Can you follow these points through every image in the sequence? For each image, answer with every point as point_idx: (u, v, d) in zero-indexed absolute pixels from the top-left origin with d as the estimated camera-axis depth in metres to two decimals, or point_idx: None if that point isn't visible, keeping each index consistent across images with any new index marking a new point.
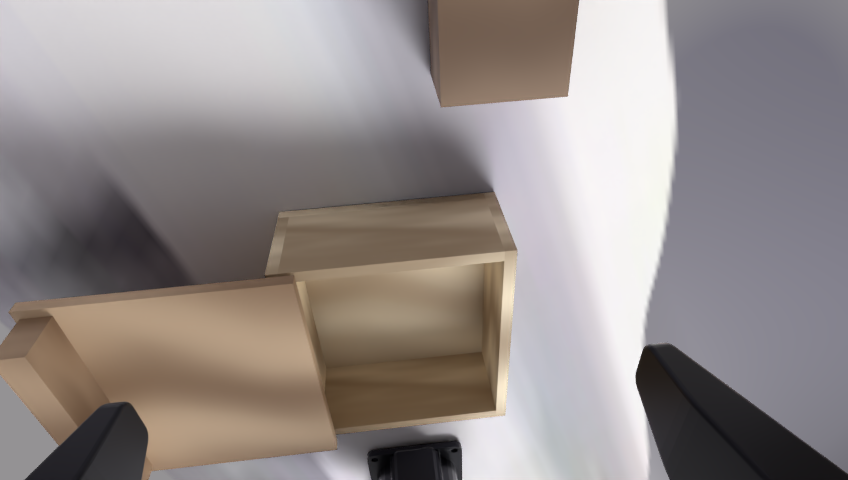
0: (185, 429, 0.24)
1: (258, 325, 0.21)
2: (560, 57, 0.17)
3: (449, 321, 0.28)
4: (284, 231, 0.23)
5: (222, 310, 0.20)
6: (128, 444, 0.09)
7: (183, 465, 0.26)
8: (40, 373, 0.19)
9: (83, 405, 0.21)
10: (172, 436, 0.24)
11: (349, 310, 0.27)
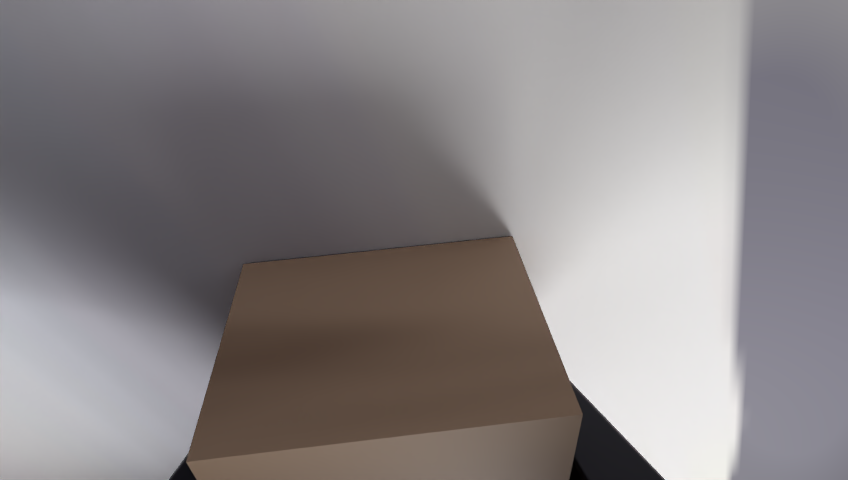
0: None
1: None
2: None
3: None
4: None
5: None
6: None
7: None
8: None
9: None
10: None
11: None
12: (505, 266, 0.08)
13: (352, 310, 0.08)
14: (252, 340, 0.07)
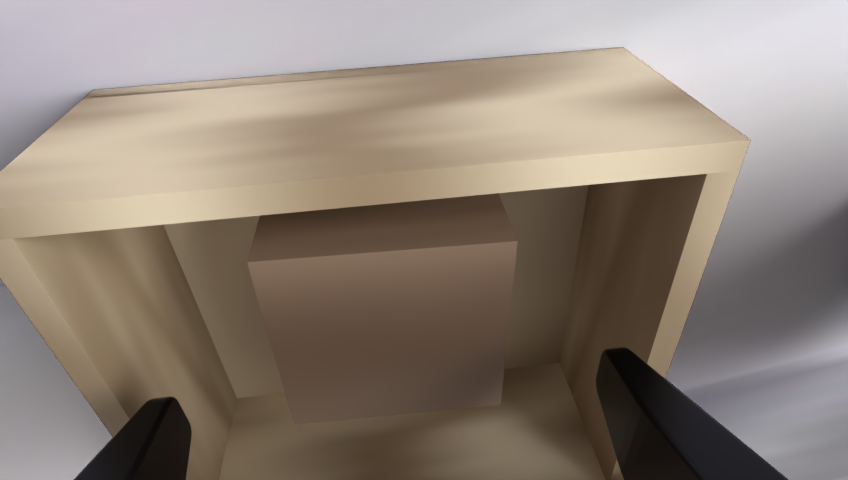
0: None
1: None
2: (485, 364, 0.11)
3: None
4: None
5: None
6: (175, 439, 0.09)
7: None
8: None
9: None
10: None
11: None
12: None
13: None
14: None
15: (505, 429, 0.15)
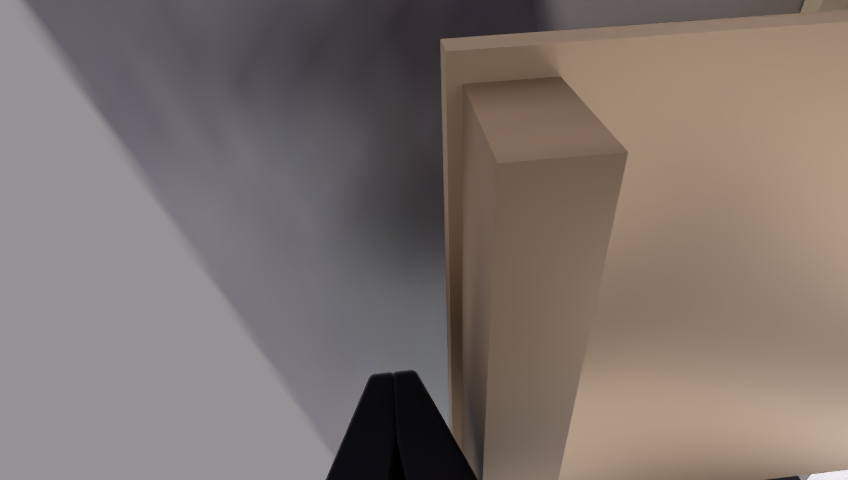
0: (631, 427, 0.11)
1: None
2: None
3: None
4: None
5: None
6: None
7: None
8: (603, 234, 0.05)
9: None
10: (593, 442, 0.11)
11: None
12: None
13: None
14: None
15: None
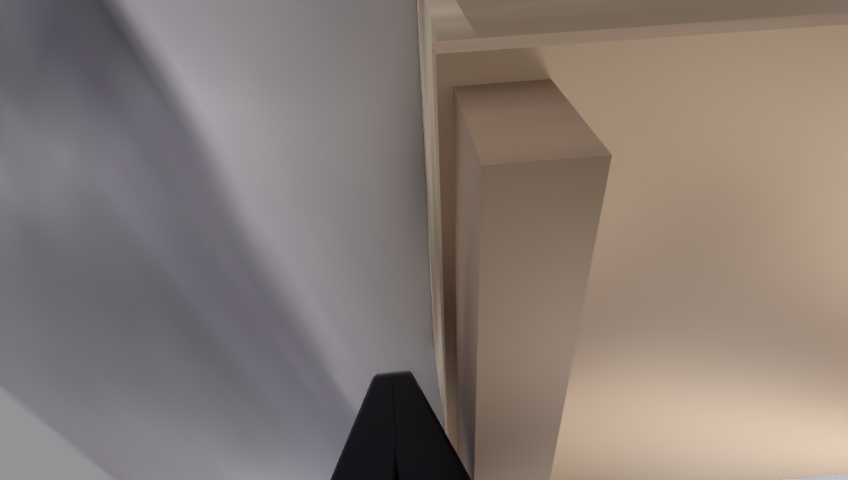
0: (626, 428, 0.11)
1: None
2: None
3: None
4: None
5: None
6: None
7: None
8: None
9: None
10: (588, 443, 0.11)
11: None
12: None
13: None
14: None
15: None
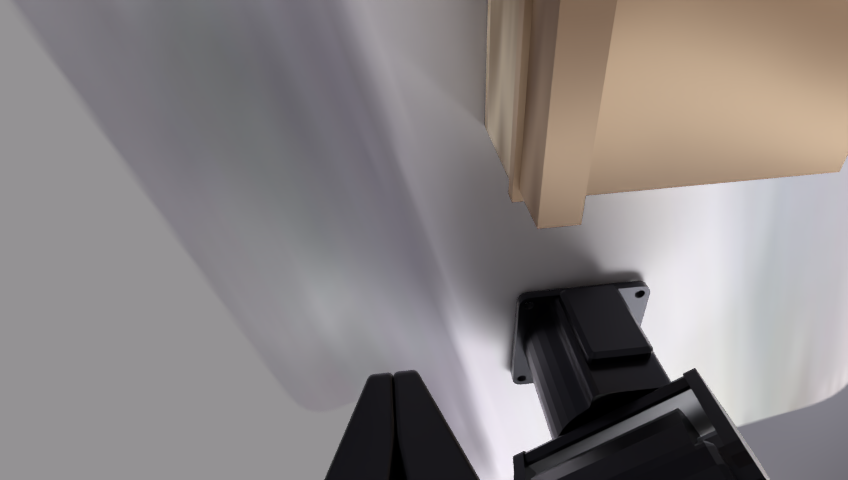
0: (656, 95, 0.14)
1: None
2: None
3: None
4: None
5: None
6: None
7: (603, 189, 0.16)
8: None
9: None
10: (626, 111, 0.14)
11: None
12: None
13: None
14: None
15: None
